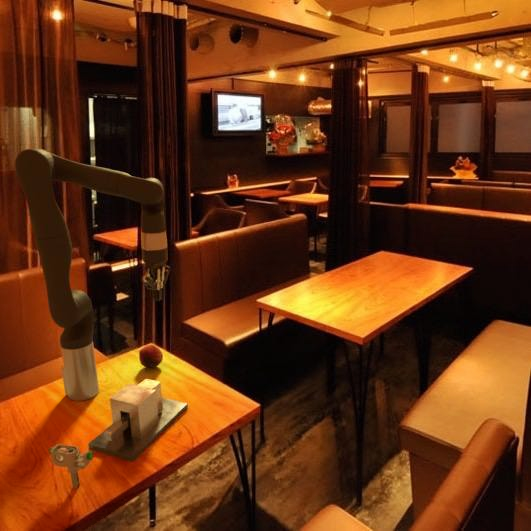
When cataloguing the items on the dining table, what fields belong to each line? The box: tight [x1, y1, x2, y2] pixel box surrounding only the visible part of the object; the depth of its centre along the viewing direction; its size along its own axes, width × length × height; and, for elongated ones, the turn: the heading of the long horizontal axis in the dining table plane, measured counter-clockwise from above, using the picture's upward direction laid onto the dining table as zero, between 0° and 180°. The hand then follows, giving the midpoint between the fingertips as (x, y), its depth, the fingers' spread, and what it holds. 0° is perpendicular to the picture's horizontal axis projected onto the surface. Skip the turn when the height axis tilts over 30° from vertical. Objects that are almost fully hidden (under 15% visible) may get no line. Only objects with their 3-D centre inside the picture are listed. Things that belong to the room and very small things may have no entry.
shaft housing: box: [87, 383, 189, 463], centre depth 137 cm, size 14×26×12 cm, turn 157°
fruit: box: [138, 344, 164, 370], centre depth 171 cm, size 8×8×8 cm
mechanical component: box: [48, 443, 94, 489], centre depth 115 cm, size 3×10×10 cm, turn 78°
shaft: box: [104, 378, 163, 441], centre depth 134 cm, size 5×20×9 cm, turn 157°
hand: (157, 300), depth 154 cm, fingers closed
